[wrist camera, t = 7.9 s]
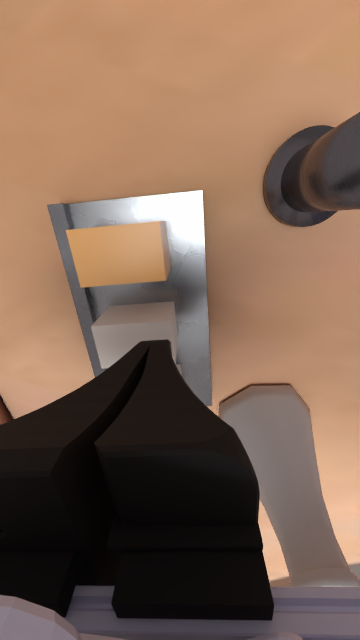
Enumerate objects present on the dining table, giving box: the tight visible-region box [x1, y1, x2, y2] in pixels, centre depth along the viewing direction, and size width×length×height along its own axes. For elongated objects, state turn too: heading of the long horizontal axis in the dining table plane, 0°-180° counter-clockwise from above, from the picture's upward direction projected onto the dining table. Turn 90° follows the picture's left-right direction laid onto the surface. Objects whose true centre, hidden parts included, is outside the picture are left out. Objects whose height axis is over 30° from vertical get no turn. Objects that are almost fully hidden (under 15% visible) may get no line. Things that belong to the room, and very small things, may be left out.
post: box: [263, 112, 360, 227], centre depth 10 cm, size 4×4×6 cm
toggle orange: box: [66, 221, 171, 287], centre depth 12 cm, size 4×2×3 cm, turn 95°
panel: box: [47, 190, 212, 406], centre depth 15 cm, size 8×14×2 cm, turn 5°
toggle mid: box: [91, 301, 178, 369], centre depth 13 cm, size 4×2×3 cm, turn 95°
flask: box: [219, 385, 360, 587], centre depth 14 cm, size 7×7×10 cm
